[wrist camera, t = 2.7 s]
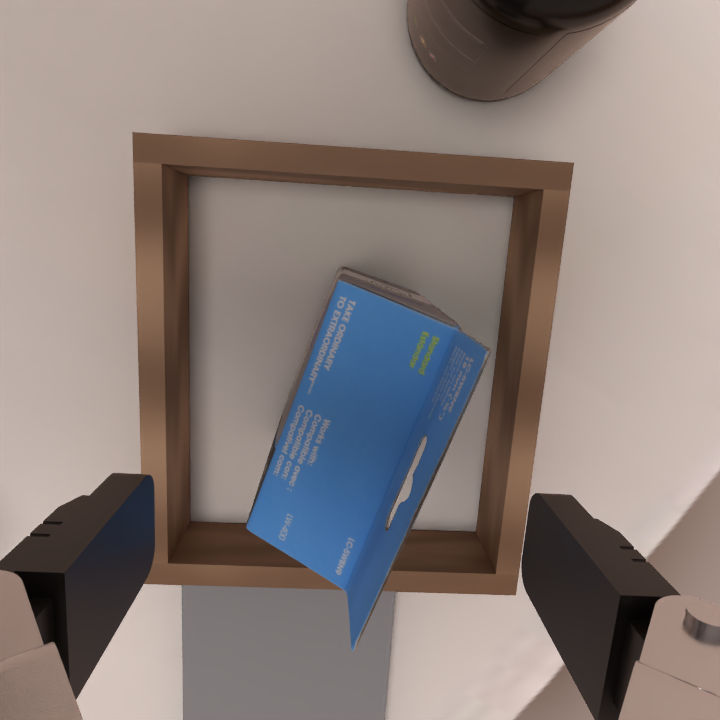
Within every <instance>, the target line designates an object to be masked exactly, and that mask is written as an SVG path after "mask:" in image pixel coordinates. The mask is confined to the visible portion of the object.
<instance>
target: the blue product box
mask: <svg viewBox="0 0 720 720" xmlns="http://www.w3.org/2000/svg"><path fill="white" fill-rule="evenodd" d="M490 353H491V352H490V349H489V348H487V347H485V346H484V345H482V344H481V343H479V342H477V341H476V340H475V339H473V338H471V337H470V336H468V335H466V334H465V333H464V332H462V331H461V328H460V327H459V325H458V324H457V323H456V322H455V321H454V320H452V319H451V318H450V317H448V316H447V315H446V314H445V313H443V312H442V311H441V310H439V309H438V308H437V307H435V306H434V305H432V304H431V303H430V302H429V301H428V300H426V299H425V298H424V297H422V296H421V295H419V294H418V293H416V292H415V291H412V290H408V289H405V288H403V287H400V286H397V285H394V284H391V283H388V282H386V281H383V280H380V279H377V278H374V277H372V276H369V275H366V274H363V273H361V272H358V271H355V270H352V269H349V268H346V267H340V268H339V270H338V272H337V274H336V277H335V279H334V282H333V284H332V286H331V289H330V292H329V294H328V296H327V299H326V301H325V304H324V306H323V309H322V311H321V314H320V316H319V318H318V321H317V324H316V326H315V329H314V331H313V334H312V336H311V339H310V341H309V344H308V346H307V349H306V351H305V354H304V357H303V359H302V362H301V364H300V367H299V370H298V372H297V375H296V378H295V380H294V383H293V386H292V388H291V391H290V394H289V396H288V399H287V402H286V405H285V408H284V411H283V414H282V416H281V419H280V422H279V425H278V428H277V432H276V435H275V438H274V441H273V444H272V447H271V450H270V453H269V456H268V459H267V462H266V465H265V468H264V471H263V474H262V477H261V480H260V483H259V487H258V490H257V493H256V496H255V499H254V502H253V506H252V509H251V511H250V515H249V518H248V521H247V524H246V528H247V529H248V530H249V531H250V532H252V533H253V534H255V535H256V536H258V537H260V538H261V539H263V540H265V541H266V542H268V543H269V544H271V545H273V546H274V547H276V548H278V549H279V550H281V551H282V552H284V553H286V554H287V555H289V556H290V557H292V558H294V559H295V560H297V561H299V562H300V563H302V564H303V565H305V566H306V567H308V568H310V569H311V570H313V571H314V572H316V573H318V574H319V575H321V576H322V577H324V578H326V579H327V580H329V581H330V582H332V583H333V584H335V585H336V586H338V587H340V588H341V589H343V590H344V591H345V592H346V594H347V599H348V610H349V624H350V637H351V650H352V651H355V650H356V648H357V645H358V643H359V640H360V638H361V636H362V634H363V632H364V630H365V627H366V625H367V623H368V621H369V619H370V617H371V615H372V613H373V610H374V608H375V606H376V604H377V602H378V599H379V597H380V595H381V593H382V591H383V589H384V586H385V584H386V582H387V580H388V578H389V576H390V573H391V571H392V569H393V567H394V564H395V562H396V560H397V558H398V556H399V554H400V552H401V550H402V548H403V545H404V543H405V541H406V539H407V536H408V535H409V533H410V531H411V529H412V526H413V524H414V522H415V520H416V518H417V516H418V513H419V511H420V509H421V506H422V504H423V502H424V500H425V498H426V496H427V494H428V492H429V489H430V487H431V485H432V483H433V481H434V479H435V476H436V474H437V472H438V470H439V468H440V466H441V463H442V461H443V459H444V457H445V454H446V452H447V450H448V447H449V445H450V443H451V441H452V439H453V436H454V434H455V432H456V430H457V427H458V425H459V423H460V421H461V419H462V416H463V414H464V412H465V410H466V408H467V405H468V403H469V401H470V399H471V396H472V394H473V392H474V390H475V388H476V385H477V383H478V381H479V379H480V376H481V374H482V372H483V370H484V367H485V365H486V363H487V360H488V358H489V356H490ZM425 436H427V443H426V446H425V449H424V451H423V454H422V456H421V459H420V461H419V464H418V466H417V467H416V469H415V471H414V474H413V484H412V489H411V492H410V495H409V497H408V498H407V500H406V501H405V502H401V503H400V505H399V506H398V508H397V510H396V513H395V515H394V518H393V520H392V522H391V525H390V528H389V529H388V531H387V524H388V520H389V517H390V514H391V511H392V509H393V507H394V504H395V502H396V500H397V498H398V495H399V493H400V491H401V488H402V486H403V484H404V481H405V479H406V477H407V474H408V472H409V470H410V468H411V465H412V463H413V461H414V458H415V456H416V453H417V450H418V448H419V446H420V445H421V442H422V440H423V438H424V437H425Z"/></svg>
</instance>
